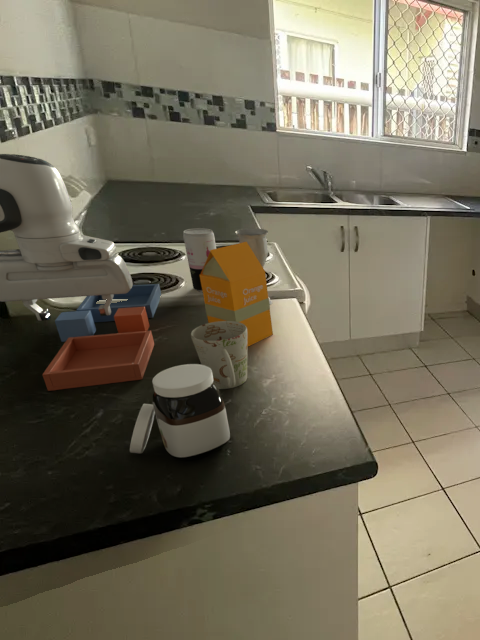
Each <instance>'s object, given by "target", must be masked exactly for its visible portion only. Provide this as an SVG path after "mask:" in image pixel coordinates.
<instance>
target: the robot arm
mask: <svg viewBox="0 0 480 640" xmlns="http://www.w3.org/2000/svg"><path fill="white" fill-rule="evenodd" d="M68 191H69V190H68V189H67V186H66V184H65V182H64V179H63V178H62V175H61V173H60V172H59V170H58V169H57V168H56V167H55V165H53V164H51V163H50V162H48V161H47V160H44V159H42V158H38V157H35V156H29V155H25V154H24V155H23V154H15V153H13V154H11V153H0V233H5V232H9V231H10V232H12V233H13V235H14V237H15V241H16V243H17V246H18V249H5V250H0V302H1V303H2V302H3V303H4V302H18V301H19V302H20V301H21V302H22V304H23V307H25V308H27V310H28V311H31V312H32V313H33V314H35V317H36V320H37V321H38V322H43V321H50V319H51V318H52V317H51V314H50V310H49V309H48V308H42V307H40V306H39V305H38V304H37V301H38V300H49V299H51V300H52V299H63V298H64V299H65V298H66V299H67V298H79V297H87V296H96V295H102V299H103V300H106V299H107V300H106V303H105V305H100V307H99V308H98V309H99V312H100V315H101V316H106V315H110V314H111V309H110V303H111V301H112V299H113V297H114V295H113V294H125V293H128V292H129V291H130V290H131V288H132V286H133V285H134V283H133V279H132V278H133V277H132V276H131V272H130V270H129V268H128V266H127V263H126V262H125V260H124V259H123V258H122V256H120V255H119V254H117V253H116V251H117V247H116V244H115V243H114V241H112V240H108V239H103V238H98V237H93V236H88V235H85V234H82V233H81V229H80V227H79V226H78V225H77V223H76V222H75V220H74V214H73V211H74V208H73V203H72V199H71V197H70V194H69V192H68Z"/></svg>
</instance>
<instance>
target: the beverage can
mask: <svg viewBox="0 0 480 640" xmlns="http://www.w3.org/2000/svg"><path fill="white" fill-rule="evenodd" d="M182 232H183V234H182V238H183V242H184V247H185V254H186V258H187V263H188V267H189V268H188V269H189V272H190V277H191V283H192V287H193V290H195V291H197V292H199V293H203V291H202V286H201V280H200V274H201V272H202V269H203V267H204V265H205V262H206V260H207V258H208V255H209V253H210V250H213V249H217V244H216V238H215V233H214V232H213V229H209V228H201V227H199V228H188V229H185V230H183V231H182Z"/></svg>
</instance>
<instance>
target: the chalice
mask: <svg viewBox="0 0 480 640" xmlns="http://www.w3.org/2000/svg"><path fill="white" fill-rule="evenodd" d="M235 234H236V235H237V237H238V241H239V242H238V243H243V242H247V243H248V245H249V246H250V248H251V250H252V251H253V253H254V254H255V256H256V258H257V259H258V261H259V262H260V264H261V265H262V267H263V268H264V266H265V264H266V262H267V260H268V259H267V258H268V254H269V248H268V239H267V238H268V237H267V236H268V234H269V230H267V229H264V228H257V227H256V228H255V227H249V228H248V227H247V228H241V229H238V230H236V231H235ZM268 298H269V305H270V306H271V305H272V304H273V301H272V299H271V298H270V296H269V295H268Z"/></svg>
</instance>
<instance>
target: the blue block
mask: <svg viewBox="0 0 480 640" xmlns="http://www.w3.org/2000/svg"><path fill="white" fill-rule="evenodd" d="M54 323H55V326H56V329H57V330H56V331H57V332H58V336H59V338H60V342H61V343H65V342H66V340H67V339H68V338H69V337H81V336H93V335H95V333H96V332H97V328H96V324H95V322H94V321H93V317H92V314H91V311H90V310H88V311H76V310H75V311H62V312H60V313H59V315H58V316H57V317H56V319H55V320H54Z"/></svg>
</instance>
